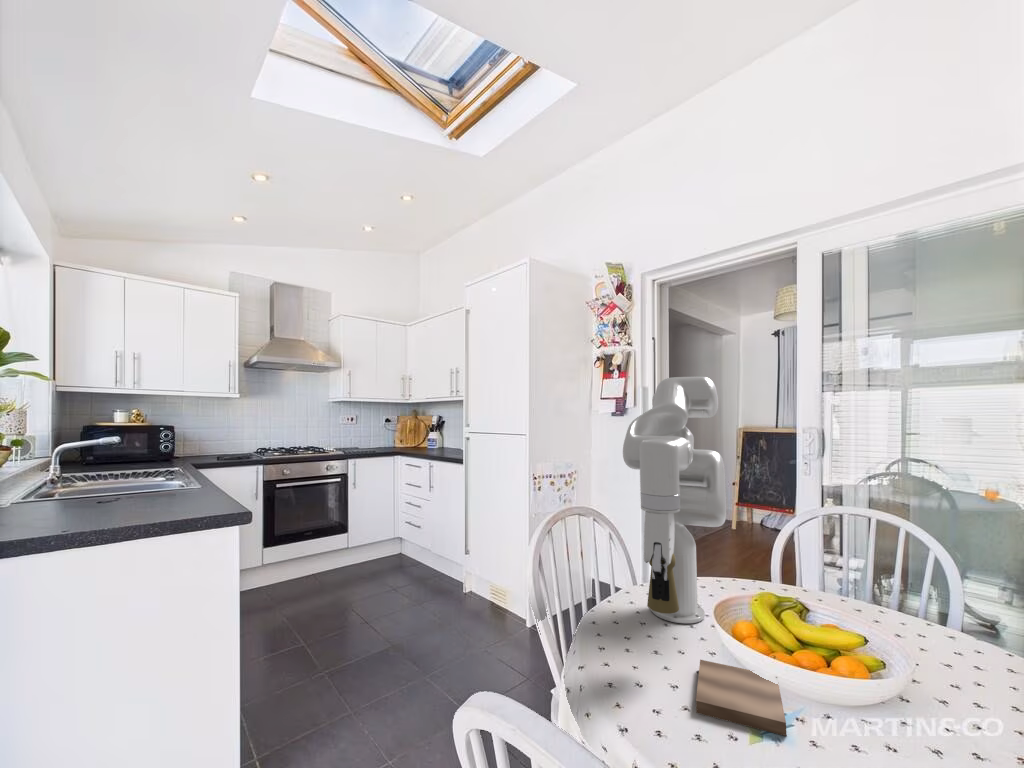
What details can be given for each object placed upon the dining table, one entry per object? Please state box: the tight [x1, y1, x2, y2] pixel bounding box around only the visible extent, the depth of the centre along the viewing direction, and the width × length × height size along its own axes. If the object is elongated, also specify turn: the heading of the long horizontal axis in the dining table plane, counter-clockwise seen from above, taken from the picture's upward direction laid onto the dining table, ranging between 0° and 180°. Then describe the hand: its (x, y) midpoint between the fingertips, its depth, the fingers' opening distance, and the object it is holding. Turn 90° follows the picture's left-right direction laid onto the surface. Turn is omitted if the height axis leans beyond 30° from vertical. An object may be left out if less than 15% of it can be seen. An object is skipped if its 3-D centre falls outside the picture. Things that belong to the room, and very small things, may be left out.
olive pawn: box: [646, 554, 679, 614], centre depth 90 cm, size 6×6×11 cm
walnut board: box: [695, 659, 788, 737], centre depth 80 cm, size 14×13×2 cm
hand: (662, 593), depth 90 cm, fingers closed on olive pawn, 4 cm apart
